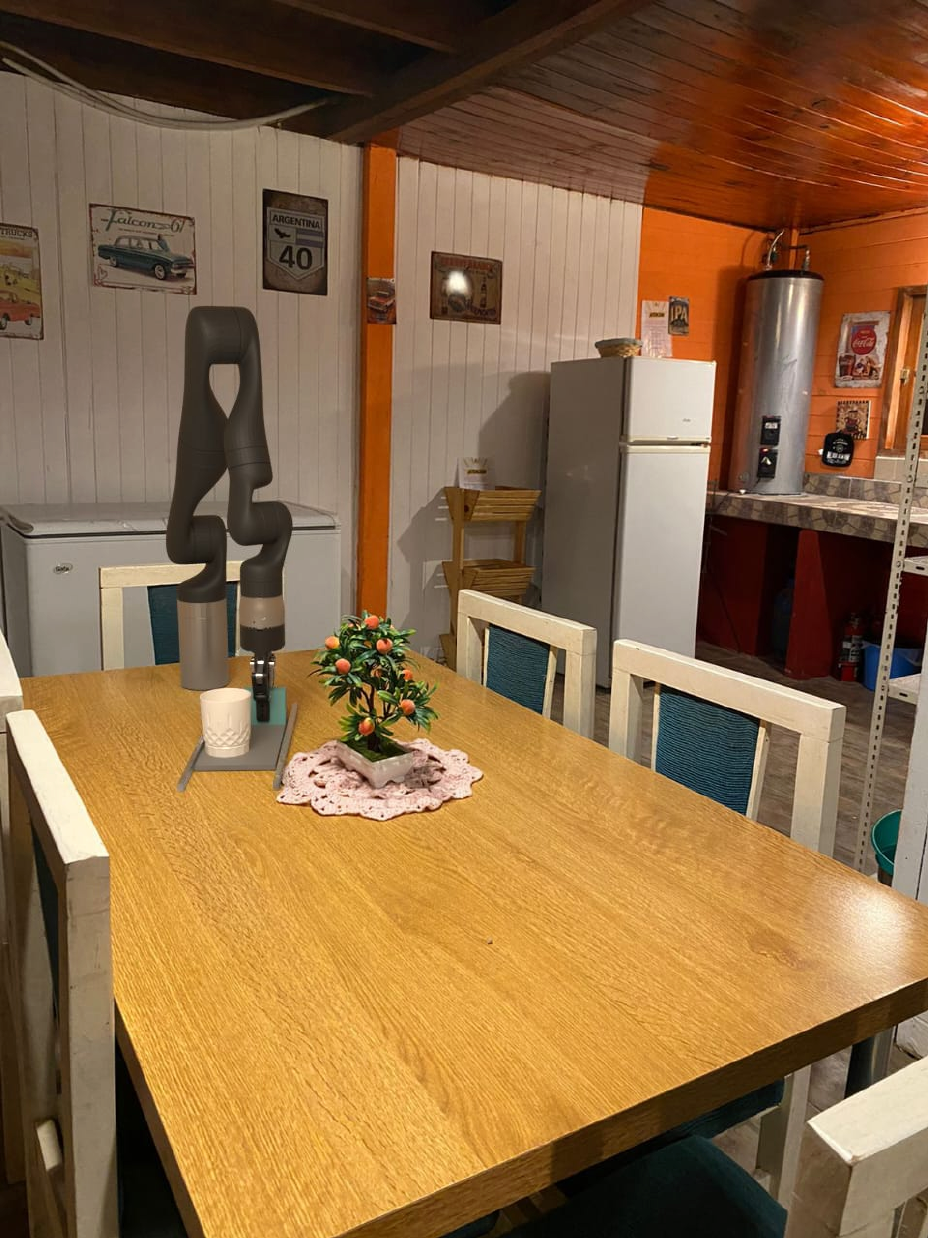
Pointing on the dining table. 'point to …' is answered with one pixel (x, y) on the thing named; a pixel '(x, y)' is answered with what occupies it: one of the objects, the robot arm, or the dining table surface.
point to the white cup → (226, 721)
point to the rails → (280, 766)
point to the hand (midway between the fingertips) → (264, 717)
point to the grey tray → (256, 739)
